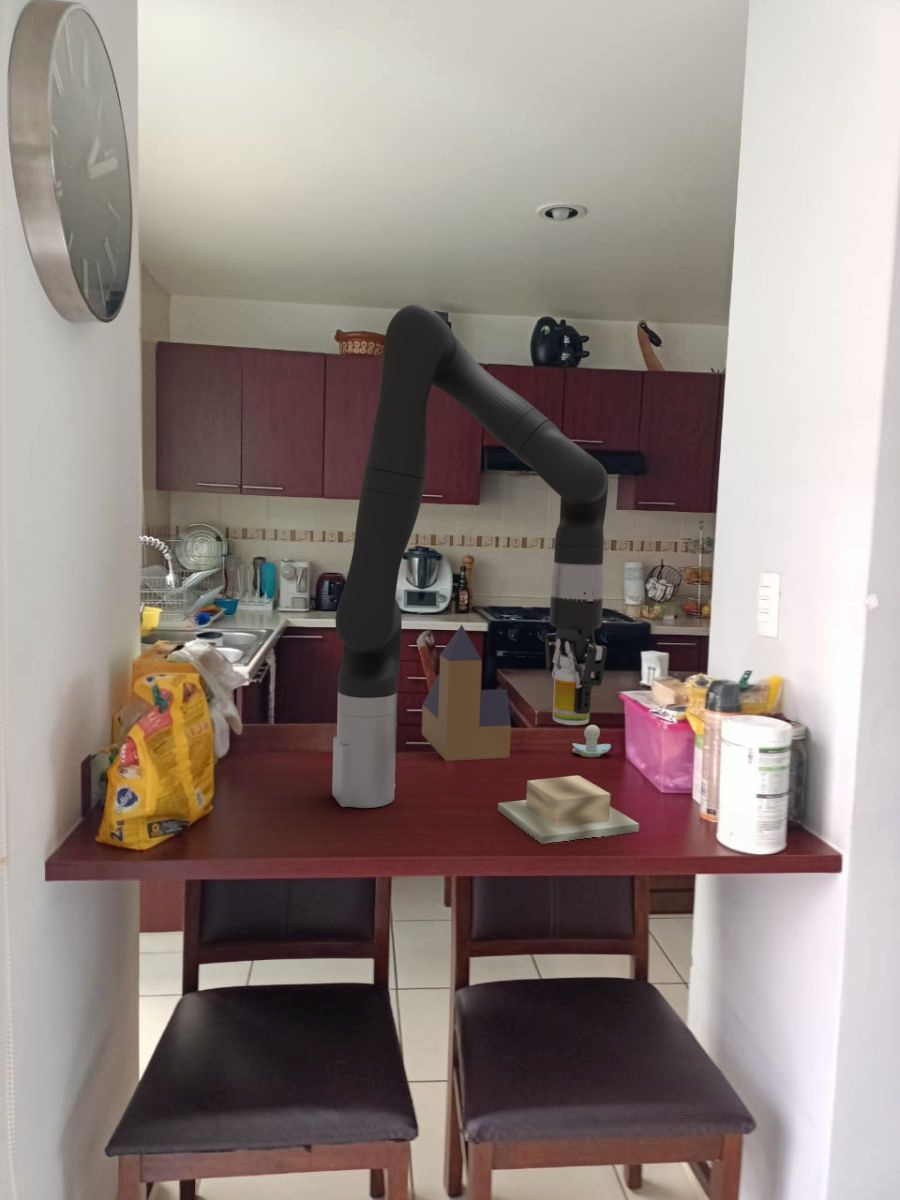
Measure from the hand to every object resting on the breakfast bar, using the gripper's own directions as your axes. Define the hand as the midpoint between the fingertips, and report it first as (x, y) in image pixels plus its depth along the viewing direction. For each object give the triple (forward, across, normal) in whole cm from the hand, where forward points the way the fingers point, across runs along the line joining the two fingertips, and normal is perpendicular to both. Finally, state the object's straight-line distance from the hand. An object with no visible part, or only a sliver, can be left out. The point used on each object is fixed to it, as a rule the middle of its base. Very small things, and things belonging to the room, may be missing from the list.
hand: (571, 707), depth 122 cm
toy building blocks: (+18, -42, +1) cm, 45 cm away
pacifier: (+18, -30, +22) cm, 41 cm away
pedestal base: (+17, 0, 0) cm, 17 cm away
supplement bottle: (+2, 0, 0) cm, 2 cm away
